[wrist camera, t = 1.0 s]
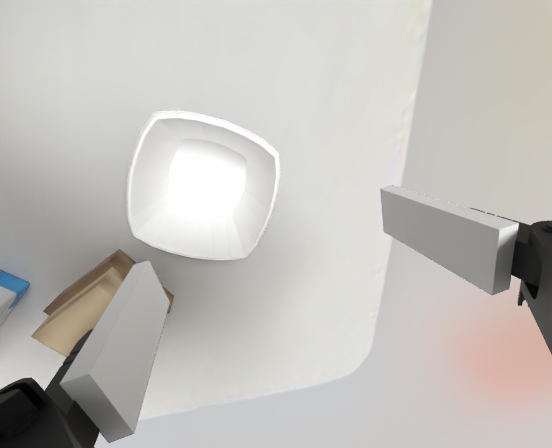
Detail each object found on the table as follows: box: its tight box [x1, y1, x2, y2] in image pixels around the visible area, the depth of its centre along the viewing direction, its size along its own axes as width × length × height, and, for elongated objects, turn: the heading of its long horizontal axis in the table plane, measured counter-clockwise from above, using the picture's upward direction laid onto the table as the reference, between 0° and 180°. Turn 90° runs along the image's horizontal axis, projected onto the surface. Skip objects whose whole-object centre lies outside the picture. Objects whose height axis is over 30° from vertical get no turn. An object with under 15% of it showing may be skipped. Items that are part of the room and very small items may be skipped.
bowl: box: [126, 110, 281, 261], centre depth 31 cm, size 15×15×11 cm
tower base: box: [43, 249, 174, 316], centre depth 38 cm, size 11×11×4 cm
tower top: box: [31, 267, 168, 357], centre depth 33 cm, size 10×10×4 cm
